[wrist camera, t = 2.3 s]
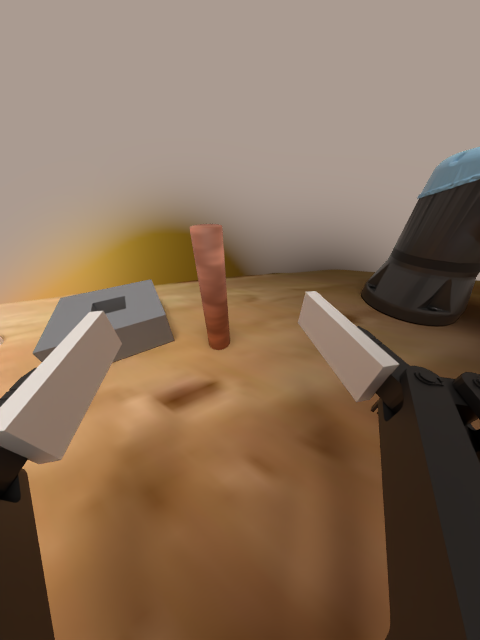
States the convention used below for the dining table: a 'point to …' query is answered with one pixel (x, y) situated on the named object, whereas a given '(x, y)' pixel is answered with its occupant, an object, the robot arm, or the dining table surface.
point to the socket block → (112, 318)
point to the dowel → (212, 281)
